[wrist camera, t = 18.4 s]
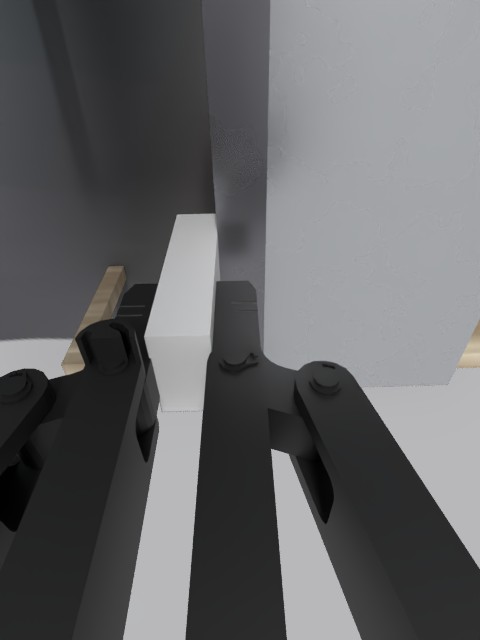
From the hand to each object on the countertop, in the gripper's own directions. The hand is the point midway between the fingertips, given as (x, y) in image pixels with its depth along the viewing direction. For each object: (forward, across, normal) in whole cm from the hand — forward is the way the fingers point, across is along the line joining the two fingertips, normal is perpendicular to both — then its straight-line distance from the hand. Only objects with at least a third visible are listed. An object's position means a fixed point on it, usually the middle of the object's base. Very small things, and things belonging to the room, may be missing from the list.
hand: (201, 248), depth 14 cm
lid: (+3, +7, 0) cm, 7 cm away
